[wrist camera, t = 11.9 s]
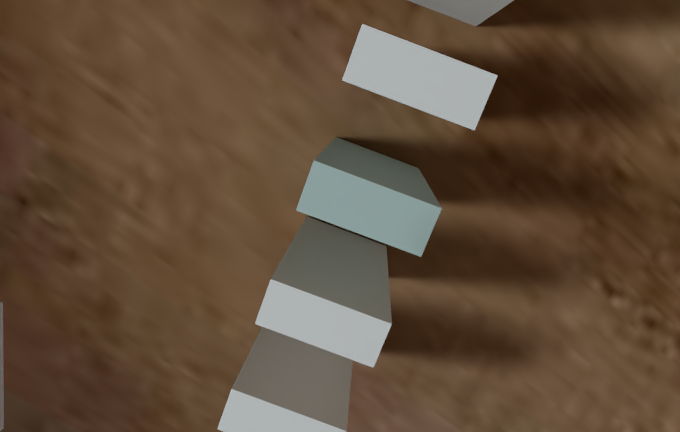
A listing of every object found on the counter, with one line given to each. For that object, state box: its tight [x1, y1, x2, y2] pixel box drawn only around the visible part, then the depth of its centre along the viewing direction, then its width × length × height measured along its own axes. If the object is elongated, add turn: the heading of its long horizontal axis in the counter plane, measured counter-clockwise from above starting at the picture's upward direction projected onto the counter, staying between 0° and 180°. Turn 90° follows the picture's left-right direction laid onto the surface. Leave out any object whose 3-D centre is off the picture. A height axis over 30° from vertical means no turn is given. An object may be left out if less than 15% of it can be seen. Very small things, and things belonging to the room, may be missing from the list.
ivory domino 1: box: [255, 216, 392, 368], centre depth 26 cm, size 2×5×11 cm, turn 70°
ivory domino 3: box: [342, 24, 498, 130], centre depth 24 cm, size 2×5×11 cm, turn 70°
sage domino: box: [296, 137, 442, 257], centre depth 25 cm, size 2×5×11 cm, turn 70°
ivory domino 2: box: [217, 327, 353, 432], centre depth 27 cm, size 2×5×11 cm, turn 70°
